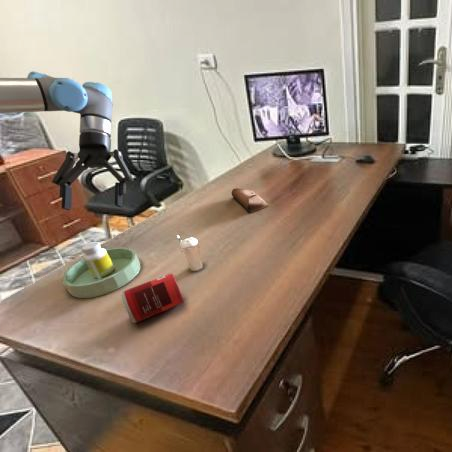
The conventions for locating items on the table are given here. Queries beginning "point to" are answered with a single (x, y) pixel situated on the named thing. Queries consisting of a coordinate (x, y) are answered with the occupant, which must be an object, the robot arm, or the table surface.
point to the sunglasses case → (249, 199)
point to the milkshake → (191, 253)
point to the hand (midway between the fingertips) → (92, 207)
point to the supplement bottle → (98, 261)
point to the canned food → (152, 298)
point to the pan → (89, 287)
